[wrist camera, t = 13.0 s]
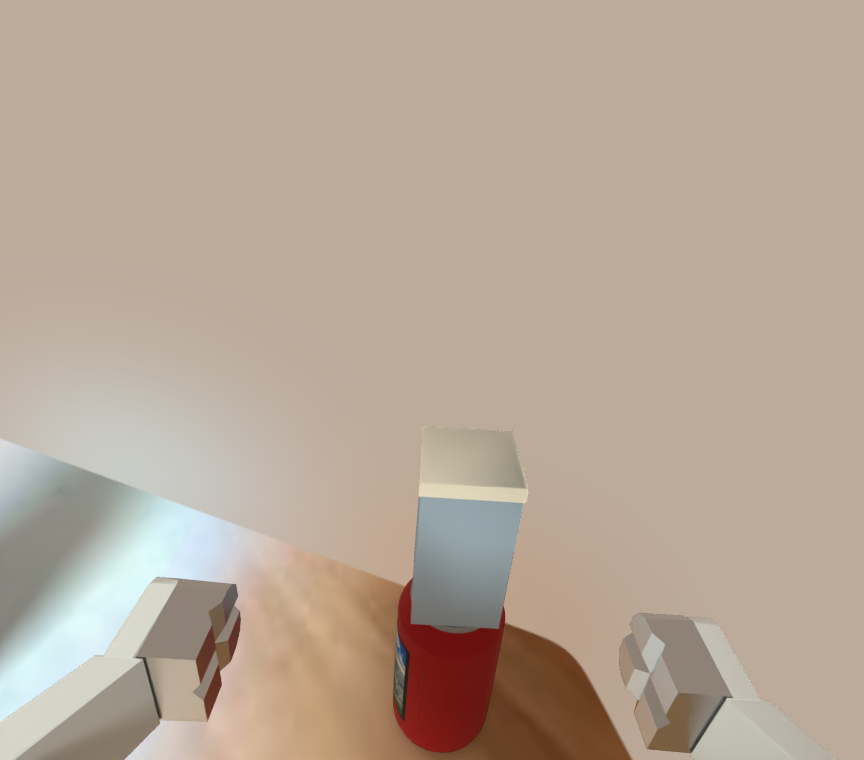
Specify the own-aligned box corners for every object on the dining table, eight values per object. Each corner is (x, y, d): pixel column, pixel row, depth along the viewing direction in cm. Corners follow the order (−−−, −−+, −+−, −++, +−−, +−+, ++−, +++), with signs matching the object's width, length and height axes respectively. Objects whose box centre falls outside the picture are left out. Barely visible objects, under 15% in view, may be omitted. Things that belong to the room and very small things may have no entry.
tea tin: (408, 625, 27) (419, 483, 23) (412, 554, 32) (422, 425, 28) (500, 630, 28) (528, 489, 23) (491, 559, 32) (513, 431, 28)
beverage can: (422, 646, 39) (433, 533, 34) (499, 691, 36) (525, 576, 31) (373, 723, 34) (377, 603, 29) (460, 782, 31) (482, 662, 26)
